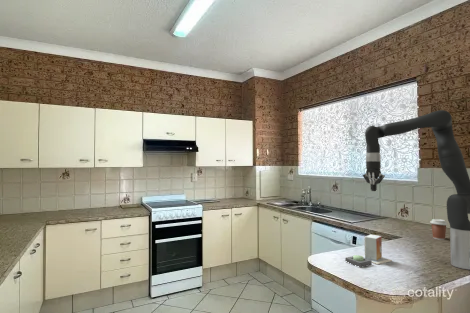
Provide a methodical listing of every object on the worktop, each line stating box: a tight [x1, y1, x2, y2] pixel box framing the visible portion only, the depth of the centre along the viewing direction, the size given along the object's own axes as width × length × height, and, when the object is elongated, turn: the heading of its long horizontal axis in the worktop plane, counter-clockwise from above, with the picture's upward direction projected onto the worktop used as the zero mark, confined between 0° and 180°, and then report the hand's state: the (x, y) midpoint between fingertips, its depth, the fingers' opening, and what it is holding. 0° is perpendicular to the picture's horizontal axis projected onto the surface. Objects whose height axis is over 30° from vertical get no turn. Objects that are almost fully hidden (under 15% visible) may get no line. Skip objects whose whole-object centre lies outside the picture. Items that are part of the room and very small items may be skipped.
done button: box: [352, 254, 363, 261], centre depth 129 cm, size 4×4×2 cm
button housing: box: [344, 255, 373, 268], centre depth 129 cm, size 8×8×2 cm
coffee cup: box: [429, 218, 449, 241], centre depth 177 cm, size 9×9×12 cm
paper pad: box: [363, 256, 393, 266], centre depth 134 cm, size 11×11×1 cm
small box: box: [364, 233, 383, 261], centre depth 135 cm, size 8×6×10 cm
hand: (373, 191), depth 156 cm, fingers closed
